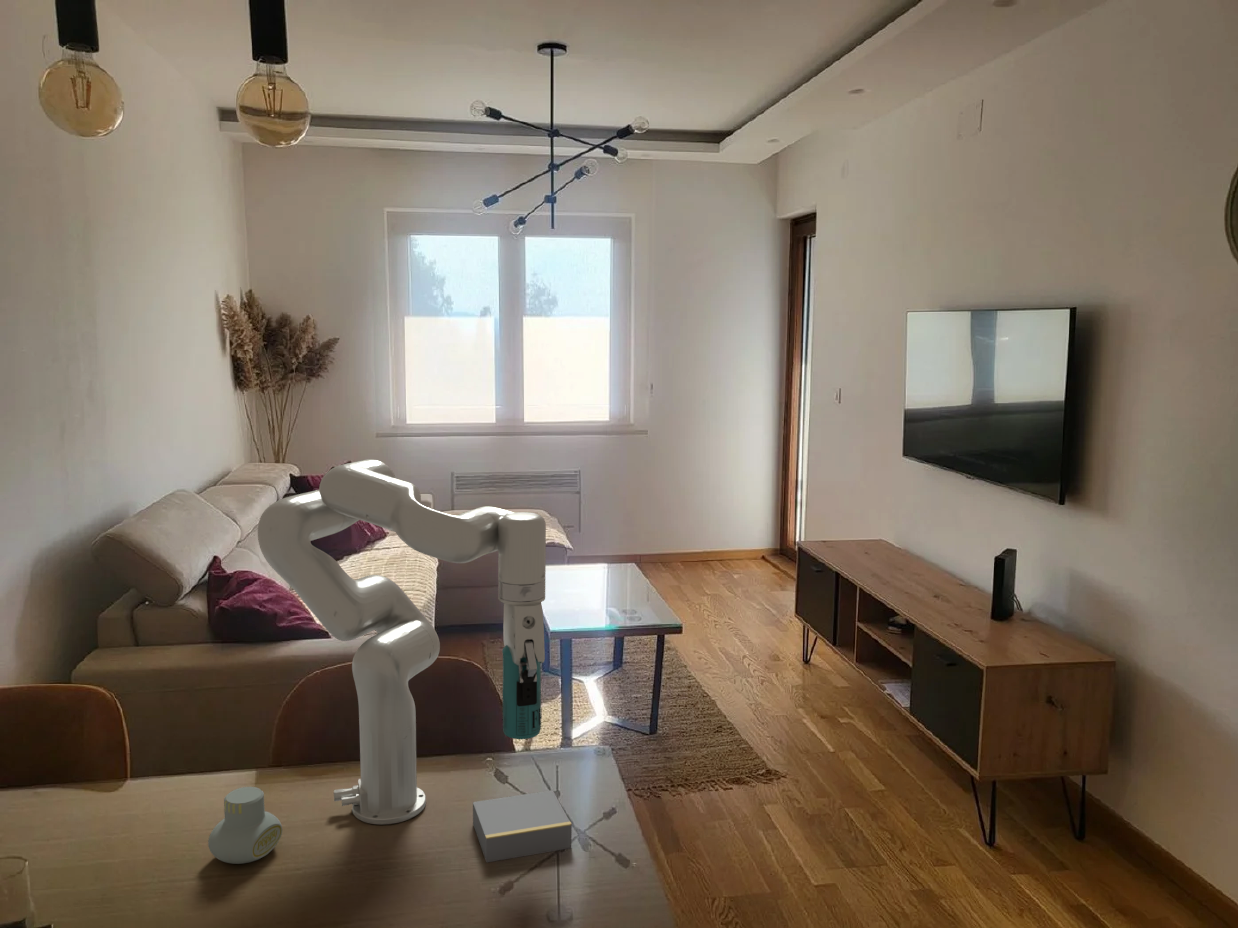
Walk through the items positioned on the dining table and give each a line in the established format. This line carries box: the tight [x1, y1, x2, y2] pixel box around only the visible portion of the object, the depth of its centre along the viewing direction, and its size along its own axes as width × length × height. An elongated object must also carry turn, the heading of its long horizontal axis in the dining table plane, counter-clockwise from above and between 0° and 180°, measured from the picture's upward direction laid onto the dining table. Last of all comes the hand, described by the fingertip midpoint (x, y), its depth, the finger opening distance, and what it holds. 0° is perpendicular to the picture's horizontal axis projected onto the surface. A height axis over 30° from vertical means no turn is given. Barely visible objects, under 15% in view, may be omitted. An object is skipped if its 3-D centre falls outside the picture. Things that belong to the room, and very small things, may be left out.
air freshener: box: [207, 786, 283, 865], centre depth 146 cm, size 11×8×10 cm
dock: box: [472, 789, 573, 863], centre depth 153 cm, size 14×12×4 cm
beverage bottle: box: [501, 621, 543, 740], centre depth 149 cm, size 6×7×20 cm
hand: (521, 695), depth 149 cm, fingers closed on beverage bottle, 6 cm apart
